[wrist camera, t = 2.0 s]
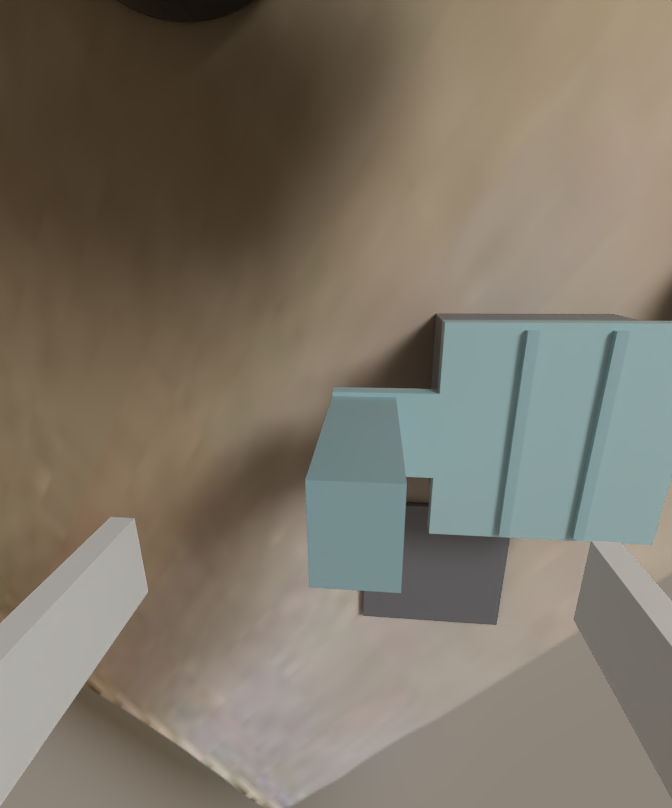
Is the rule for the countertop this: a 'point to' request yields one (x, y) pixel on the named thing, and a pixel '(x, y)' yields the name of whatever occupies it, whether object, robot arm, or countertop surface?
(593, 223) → the countertop surface
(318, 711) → the countertop surface
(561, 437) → the pale blue ridged block
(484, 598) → the mat
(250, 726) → the countertop surface
